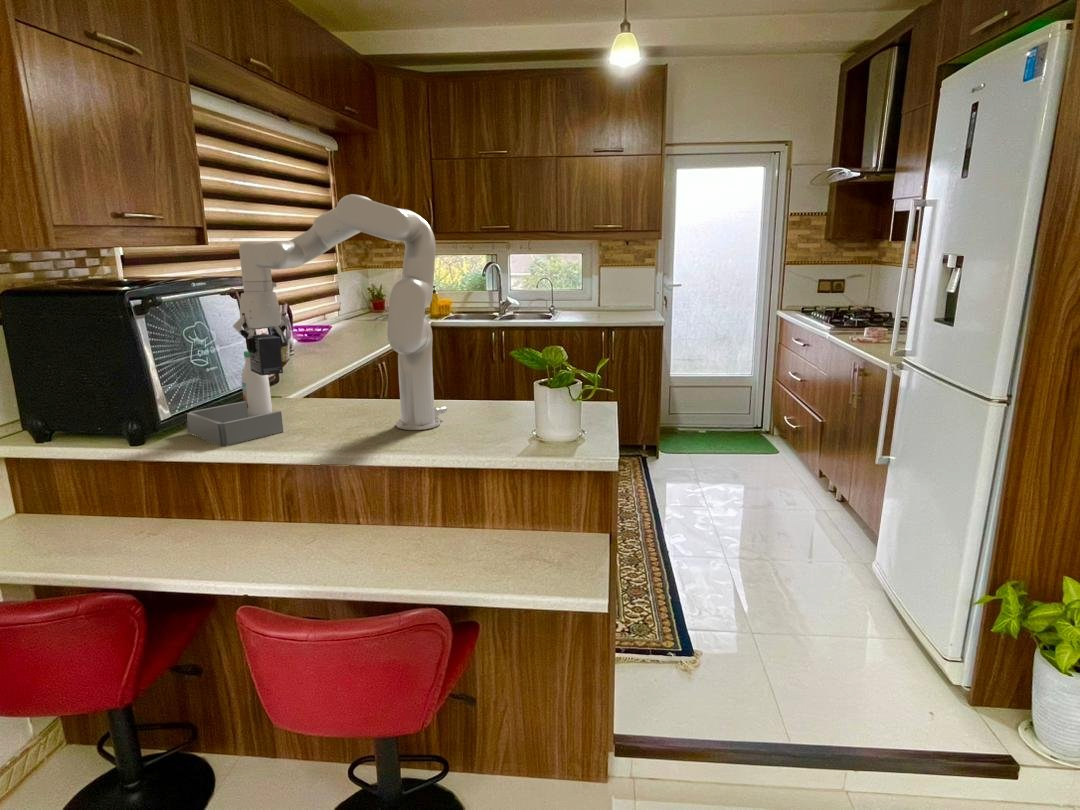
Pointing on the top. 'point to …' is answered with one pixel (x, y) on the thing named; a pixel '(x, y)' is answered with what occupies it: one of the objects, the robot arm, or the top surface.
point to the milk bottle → (255, 390)
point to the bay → (232, 424)
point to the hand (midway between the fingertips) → (265, 350)
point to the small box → (266, 355)
